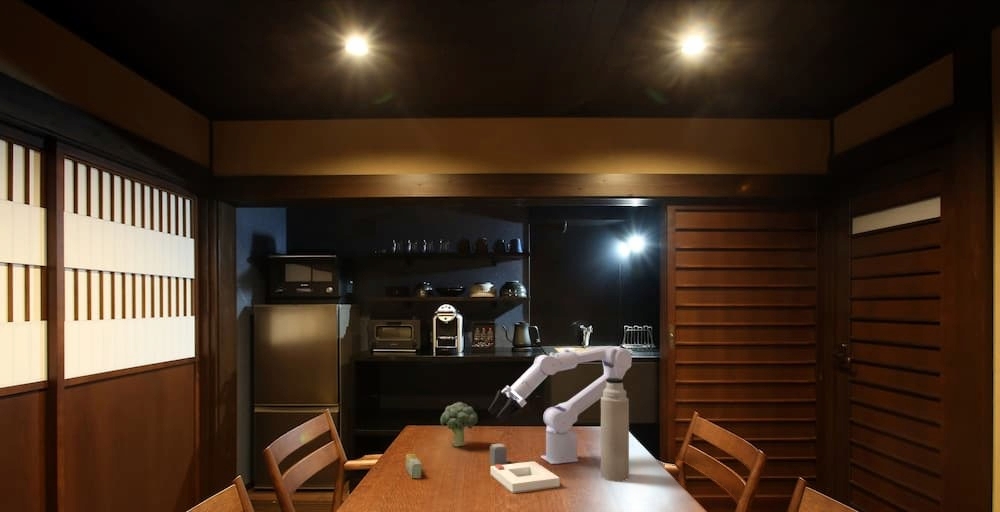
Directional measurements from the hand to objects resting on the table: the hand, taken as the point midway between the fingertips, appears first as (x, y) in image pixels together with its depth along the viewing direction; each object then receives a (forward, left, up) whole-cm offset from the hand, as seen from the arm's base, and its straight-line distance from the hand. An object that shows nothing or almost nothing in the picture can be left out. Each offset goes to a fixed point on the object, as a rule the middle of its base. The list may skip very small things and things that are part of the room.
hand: (494, 416), depth 173 cm
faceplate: (-3, +16, -15) cm, 22 cm away
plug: (-2, -1, -15) cm, 15 cm away
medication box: (+24, -2, -15) cm, 29 cm away
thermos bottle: (-29, +22, -15) cm, 39 cm away
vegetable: (+3, -24, -15) cm, 29 cm away
